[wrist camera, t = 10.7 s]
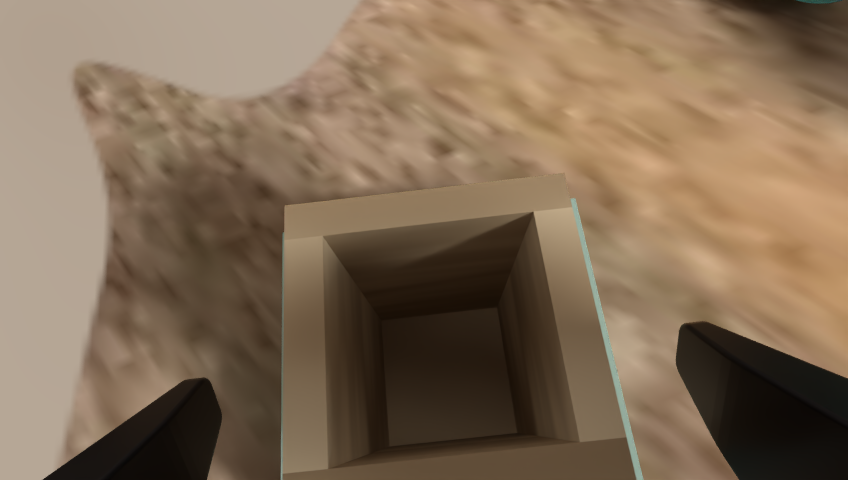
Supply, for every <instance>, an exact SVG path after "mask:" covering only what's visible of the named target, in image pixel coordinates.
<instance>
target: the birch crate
mask: <svg viewBox="0 0 848 480" xmlns="http://www.w3.org/2000/svg"><path fill="white" fill-rule="evenodd" d="M282 480H637V479H636V475H635V471H634V466H633V462H632V458H631V454H630V449H629V445H628V441H627V437H626V432H625V428H624V424H623V420H622V415H621V411H620V407H619V403H618V398H617V394H616V390H615V386H614V382H613V377H612V373H611V369H610V365H609V360H608V356H607V352H606V348H605V343H604V339H603V335H602V331H601V326H600V322H599V318H598V314H597V309H596V305H595V301H594V297H593V292H592V288H591V284H590V280H589V276H588V271H587V267H586V263H585V259H584V254H583V250H582V246H581V242H580V237H579V233H578V229H577V225H576V220H575V216H574V212H573V208H572V203H571V199H570V195H569V191H568V186H567V182H566V178H565V174H564V173H561V174H552V175H543V176H535V177H526V178H518V179H509V180H500V181H492V182H483V183H474V184H466V185H457V186H449V187H440V188H431V189H423V190H414V191H405V192H397V193H388V194H380V195H371V196H362V197H354V198H345V199H337V200H328V201H319V202H311V203H302V204H293V205H285V206H284V340H283V473H282Z"/></svg>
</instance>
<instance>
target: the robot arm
mask: <svg viewBox="0 0 848 480" xmlns="http://www.w3.org/2000/svg"><path fill="white" fill-rule="evenodd" d="M676 365H677V369H678V372H679V374H680V376H681V378H682V380H683V382H684V384H685V386H686V388H687V389H688V391H689V393H690V395H691V397H692V399H693V401H694V403H695V405H696V407H697V409H698V411H699V413H700V415H701V416H702V418H703V420H704V422H705V424H706V426H707V428H708V430H709V432H710V434H711V436H712V437H713V439H714V441H715V443H716V445H717V446H718V448H719V449H720V451H721V453H722V454H723V456H724V457H725V459H726V460H727V462H728V463H729V465H730V467H731V468H732V470H733V471H734V473H735V474H736V476H737V477H738V479H739V480H848V378H845V377H843V376H840V375H838V374H835V373H833V372H830V371H828V370H825V369H823V368H820V367H818V366H815V365H813V364H810V363H808V362H805V361H803V360H800V359H798V358H795V357H793V356H790V355H788V354H785V353H783V352H780V351H778V350H776V349H773V348H771V347H768V346H766V345H763V344H761V343H758V342H756V341H753V340H751V339H748V338H746V337H743V336H741V335H738V334H736V333H733V332H731V331H728V330H726V329H723V328H721V327H718V326H716V325H713V324H711V323H709V322H705V321H700V322H691V323H684V324H683V325H682V326H681V327H680V330H679V336H678V344H677V353H676ZM221 420H222V414H221V409H220V406H219V404H218V401H217V398H216V395H215V393H214V390H213V387H212V384H211V382H210V381H209V380H208V379H207V378H195V379H187V380H184V381H182V382H181V383H179V384H178V385H177V386H175V387H174V388H172V389H171V390H169V391H168V392H167V393H165V394H164V395H162V396H161V397H159V398H158V399H157V400H155V401H154V402H152V403H151V404H150V405H148V406H147V407H145V408H144V409H142V410H141V411H140V412H138V413H137V414H135V415H134V416H132V417H131V418H130V419H128V420H127V421H125V422H124V423H122V424H121V425H120V426H118V427H117V428H115V429H114V430H113V431H111V432H110V433H108V434H107V435H105V436H104V437H103V438H101V439H100V440H98V441H97V442H95V443H94V444H93V445H91V446H90V447H88V448H87V449H85V450H84V451H83V452H81V453H80V454H78V455H77V456H76V457H74V458H73V459H71V460H70V461H68V462H67V463H66V464H64V465H63V466H61V467H60V468H58V469H57V470H56V471H54V472H53V473H51V474H50V475H48V476H47V477H46V478H44V479H43V480H207V477H208V473H209V469H210V465H211V461H212V457H213V453H214V449H215V446H216V442H217V438H218V434H219V430H220V426H221Z"/></svg>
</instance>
